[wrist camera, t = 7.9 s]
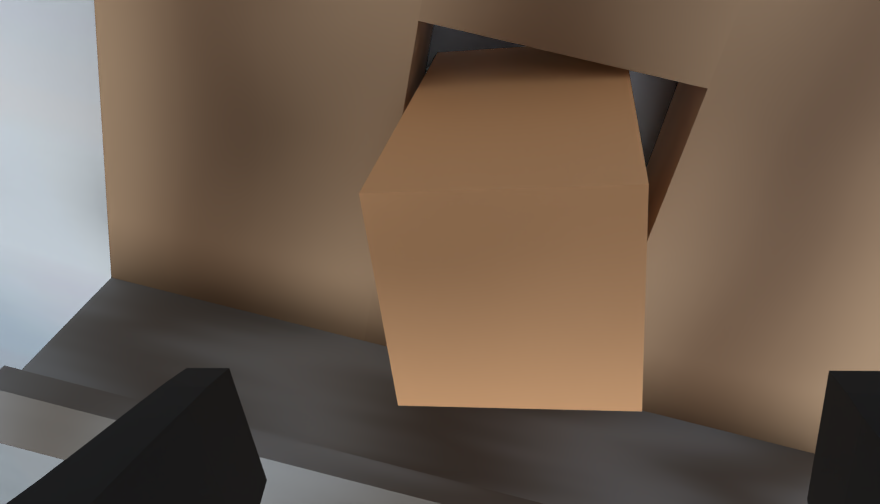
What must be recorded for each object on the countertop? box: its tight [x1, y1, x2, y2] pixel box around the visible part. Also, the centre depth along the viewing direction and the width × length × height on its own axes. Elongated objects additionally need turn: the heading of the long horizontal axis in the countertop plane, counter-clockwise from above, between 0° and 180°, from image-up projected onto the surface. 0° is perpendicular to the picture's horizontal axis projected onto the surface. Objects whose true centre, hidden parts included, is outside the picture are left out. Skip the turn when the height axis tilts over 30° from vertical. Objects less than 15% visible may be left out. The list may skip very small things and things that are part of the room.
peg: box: [359, 46, 649, 412], centre depth 14 cm, size 4×4×7 cm
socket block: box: [0, 0, 880, 504], centre depth 15 cm, size 18×11×7 cm, turn 79°
